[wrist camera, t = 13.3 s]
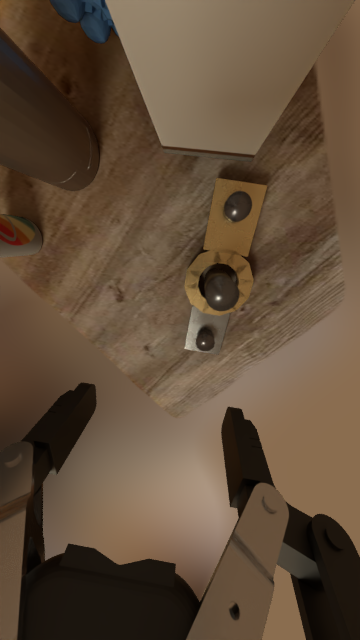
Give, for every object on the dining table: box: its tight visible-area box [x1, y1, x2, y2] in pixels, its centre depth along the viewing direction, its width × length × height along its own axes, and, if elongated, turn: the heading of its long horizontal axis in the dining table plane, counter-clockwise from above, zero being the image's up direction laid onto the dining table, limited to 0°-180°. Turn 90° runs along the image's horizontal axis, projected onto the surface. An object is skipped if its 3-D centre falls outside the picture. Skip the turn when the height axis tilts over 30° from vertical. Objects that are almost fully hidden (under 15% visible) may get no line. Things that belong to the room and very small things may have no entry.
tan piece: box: [184, 178, 267, 355], centre depth 29 cm, size 10×26×4 cm, turn 171°
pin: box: [204, 269, 239, 311], centre depth 27 cm, size 4×4×9 cm
